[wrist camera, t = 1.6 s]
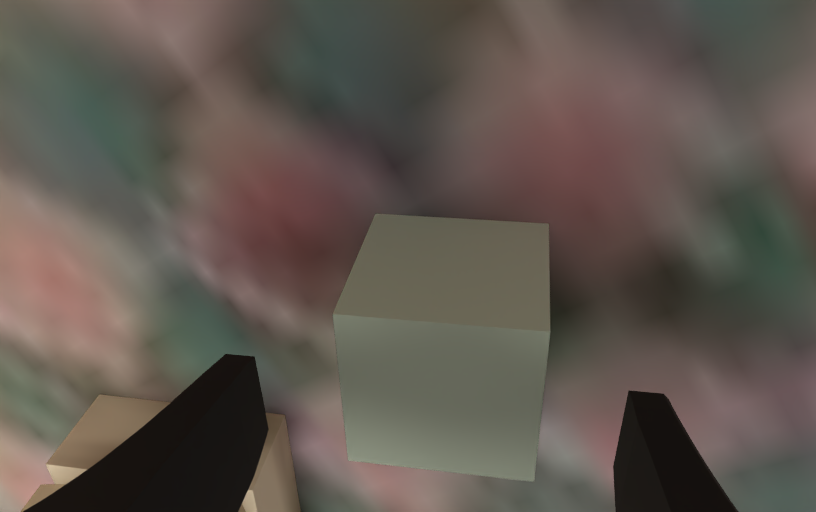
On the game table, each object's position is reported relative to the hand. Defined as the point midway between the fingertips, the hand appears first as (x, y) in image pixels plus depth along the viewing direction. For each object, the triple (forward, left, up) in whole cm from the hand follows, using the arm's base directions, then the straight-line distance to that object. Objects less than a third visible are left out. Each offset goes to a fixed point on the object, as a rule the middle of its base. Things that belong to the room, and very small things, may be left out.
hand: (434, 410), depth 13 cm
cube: (0, 0, -4) cm, 4 cm away
